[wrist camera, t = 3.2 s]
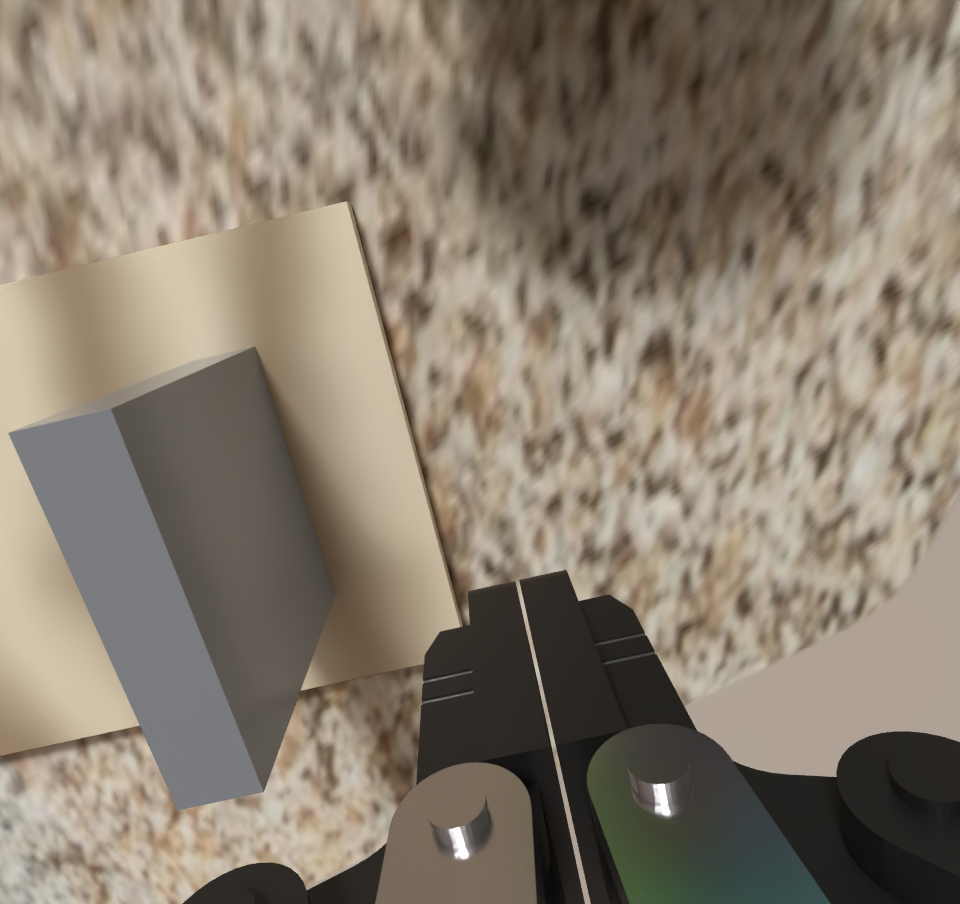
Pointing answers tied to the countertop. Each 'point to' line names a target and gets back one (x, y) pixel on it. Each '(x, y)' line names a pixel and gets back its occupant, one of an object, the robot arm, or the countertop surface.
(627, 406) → the countertop surface
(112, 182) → the countertop surface
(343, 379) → the board
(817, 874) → the robot arm
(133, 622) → the block
